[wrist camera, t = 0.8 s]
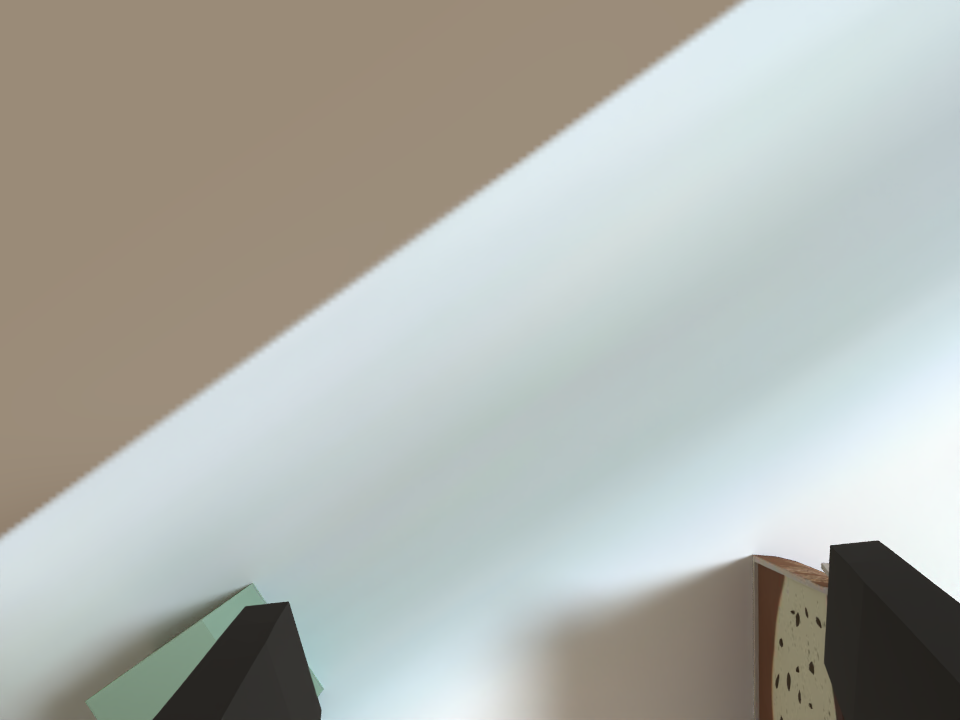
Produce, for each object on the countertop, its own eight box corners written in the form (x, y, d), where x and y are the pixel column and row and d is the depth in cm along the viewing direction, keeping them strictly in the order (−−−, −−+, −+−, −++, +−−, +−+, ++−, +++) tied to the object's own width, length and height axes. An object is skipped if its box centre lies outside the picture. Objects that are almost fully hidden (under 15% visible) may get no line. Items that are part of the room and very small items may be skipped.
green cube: (222, 758, 33) (165, 825, 28) (153, 652, 34) (85, 701, 29) (324, 688, 33) (284, 744, 28) (253, 582, 33) (201, 619, 28)
